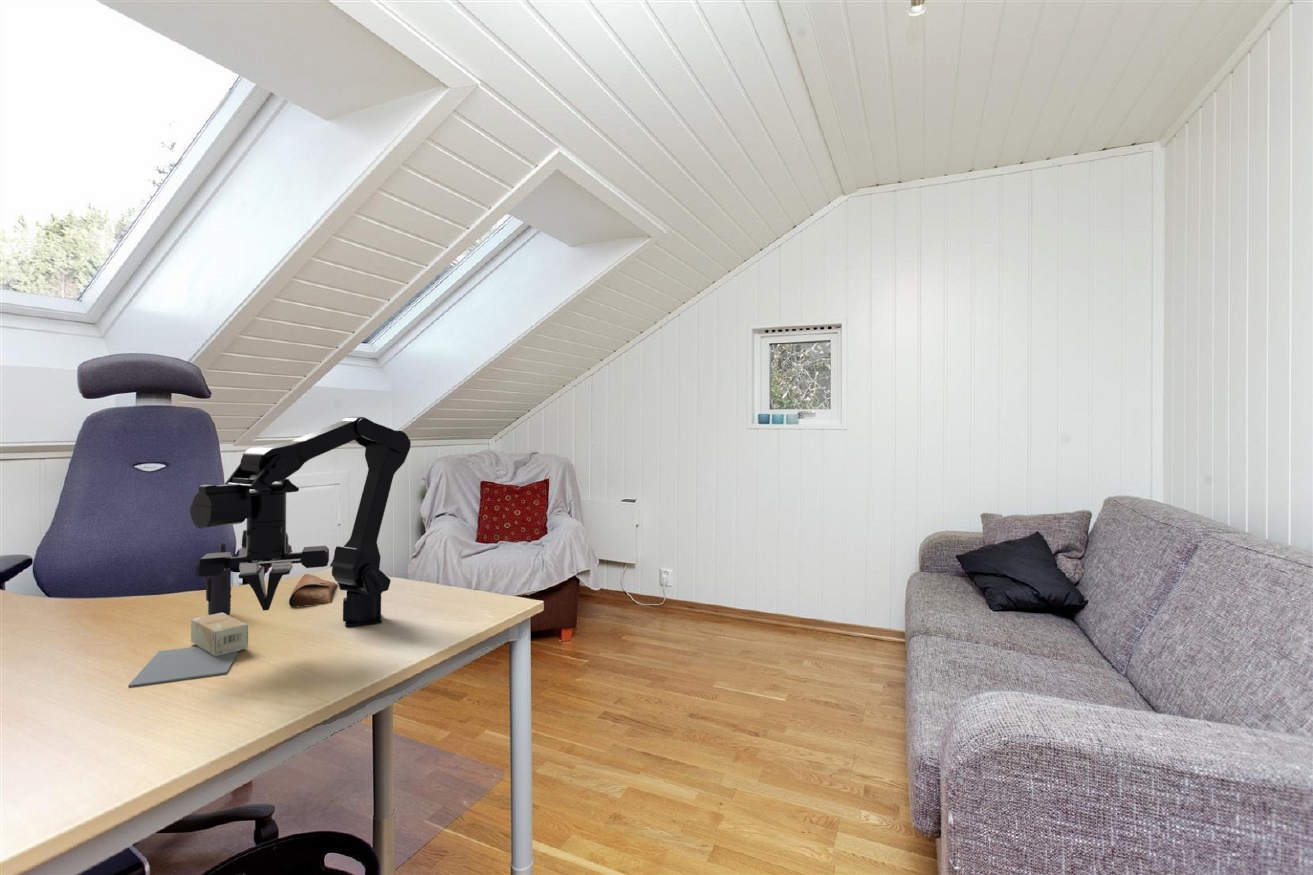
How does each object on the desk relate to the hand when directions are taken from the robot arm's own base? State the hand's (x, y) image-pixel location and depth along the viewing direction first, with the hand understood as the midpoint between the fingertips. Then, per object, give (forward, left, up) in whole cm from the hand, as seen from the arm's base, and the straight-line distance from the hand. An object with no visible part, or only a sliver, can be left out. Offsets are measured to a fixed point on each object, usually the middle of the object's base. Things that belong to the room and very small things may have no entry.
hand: (266, 609), depth 102 cm
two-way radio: (+12, -27, -8) cm, 30 cm away
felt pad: (+10, +1, -7) cm, 13 cm away
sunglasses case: (-5, -36, -8) cm, 38 cm away
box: (+5, -1, -5) cm, 7 cm away
